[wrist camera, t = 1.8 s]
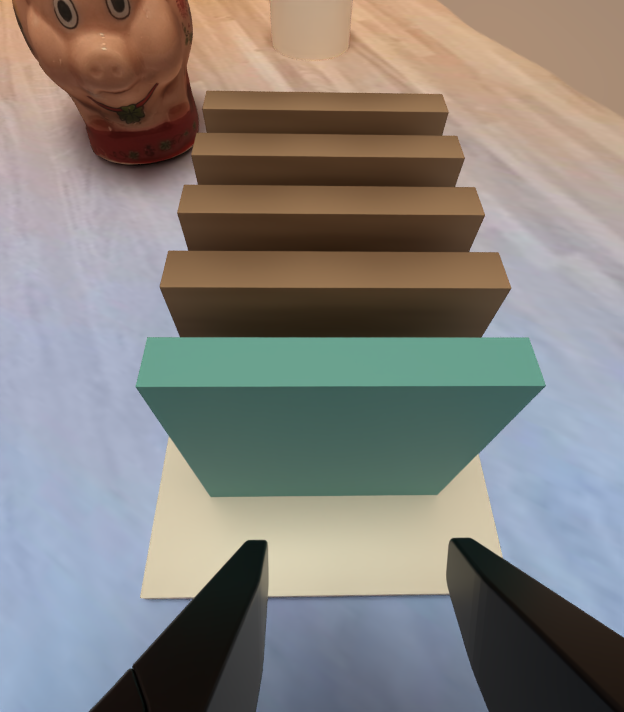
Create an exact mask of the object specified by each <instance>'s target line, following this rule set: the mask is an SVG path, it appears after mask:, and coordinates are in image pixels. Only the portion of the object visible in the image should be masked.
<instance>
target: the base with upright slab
mask: <svg viewBox="0 0 624 712" xmlns="http://www.w3.org/2000/svg"><path fill="white" fill-rule="evenodd" d="M352 1H353V0H270V15H271V35H272V45H273V48H274V49H275V50H276V51H277V52H279V53H280V54H282V55H284V56H286V57H289V58H292V59H298V60H305V61H321V60H327V59H332V58H335V57H338V56H340V55H342V54H343V53H345V52H346V51H347V49H348V48H349V39H350V26H351V14H352Z"/></svg>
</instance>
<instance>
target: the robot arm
mask: <svg viewBox="0 0 624 712" xmlns="http://www.w3.org/2000/svg"><path fill="white" fill-rule="evenodd" d="M446 581H447V587H448V590H449V594H450V597H451V601H452V604H453V607H454V611H455V614H456V618H457V621H458V624H459V628H460V631H461V634H462V638H463V641H464V645H465V648H466V651H467V655H468V658H469V661H470V664H471V667H472V670H473V673H474V675H475V678H476V681H477V683H478V686H479V688H480V691H481V693H482V696H483V698H484V701H485V703H486V706H487V708H488V711H489V712H624V637H622V636H620V635H619V634H617V633H616V632H614V631H613V630H611V629H610V628H608V627H607V626H605V625H604V624H602V623H601V622H599V621H598V620H596V619H595V618H593V617H591V616H590V615H588V614H587V613H585V612H584V611H582V610H581V609H579V608H578V607H576V606H575V605H573V604H572V603H570V602H569V601H567V600H566V599H564V598H563V597H561V596H559V595H558V594H556V593H555V592H553V591H552V590H550V589H549V588H547V587H546V586H544V585H543V584H541V583H540V582H538V581H537V580H535V579H534V578H532V577H530V576H529V575H527V574H526V573H524V572H523V571H521V570H520V569H518V568H517V567H515V566H514V565H512V564H511V563H509V562H508V561H506V560H505V559H503V558H501V557H500V556H498V555H497V554H495V553H494V552H492V551H491V550H489V549H488V548H486V547H485V546H483V545H482V544H480V543H479V542H477V541H476V540H474V539H472V538H469V537H467V538H452V539H450V541H449V544H448V555H447V568H446ZM268 586H269V567H268V542H267V541H266V540H247V541H246V542H244V544H243V545H242V546H241V547H240V548H239V549H238V550H237V551H236V552H235V553H234V555H233V556H232V557H231V558H230V559H229V560H228V561H227V562H226V563H225V564H224V565H223V567H222V568H221V569H220V570H219V571H218V572H217V573H216V574H215V575H214V576H213V578H212V579H211V580H210V581H209V582H208V583H207V584H206V585H205V586H204V587H203V589H202V590H201V591H200V592H199V593H198V594H197V595H196V596H195V597H194V598H193V599H192V601H191V602H190V603H189V604H188V605H187V606H186V607H185V608H184V609H183V610H182V612H181V613H180V614H179V615H178V616H177V617H176V618H175V619H174V620H173V621H172V623H171V624H170V625H169V626H168V627H167V628H166V629H165V630H164V631H163V632H162V633H161V635H160V636H159V637H158V638H157V639H156V640H155V641H154V642H153V643H152V644H151V646H150V647H149V648H148V649H147V650H146V651H145V652H144V653H143V654H142V655H141V657H140V658H139V659H138V660H137V661H136V662H135V663H134V664H133V666H132V669H129V670H127V672H126V673H125V674H124V675H123V676H122V677H121V678H120V679H119V680H118V681H117V683H116V684H115V685H114V686H113V687H112V688H111V689H110V690H109V691H108V692H107V693H106V694H105V695H104V696H103V697H102V698H101V700H100V701H99V702H98V703H97V704H96V705H95V706H94V707H93V708H92V709H91V710H90V711H89V712H256V707H257V702H258V696H259V690H260V684H261V678H262V671H263V660H264V647H265V632H266V617H267V602H268Z"/></svg>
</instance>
